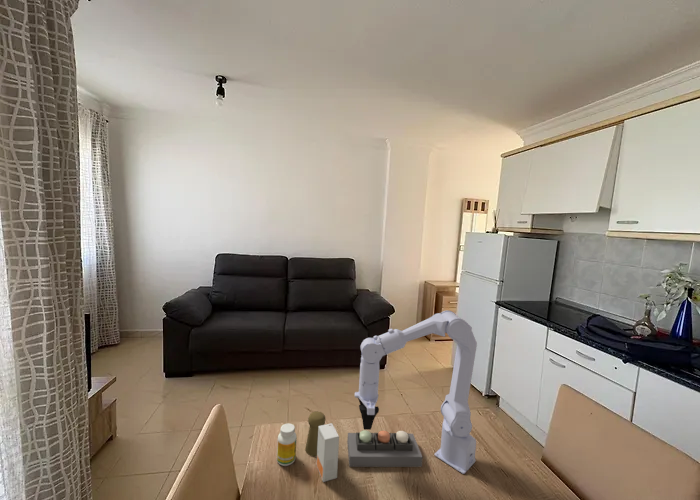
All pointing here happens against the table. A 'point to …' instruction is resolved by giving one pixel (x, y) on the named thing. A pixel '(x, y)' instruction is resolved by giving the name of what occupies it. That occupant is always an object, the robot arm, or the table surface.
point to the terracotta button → (383, 437)
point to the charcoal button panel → (383, 452)
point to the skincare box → (327, 452)
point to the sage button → (365, 436)
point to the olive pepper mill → (314, 432)
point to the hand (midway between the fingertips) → (366, 423)
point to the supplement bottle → (286, 445)
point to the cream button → (402, 437)
